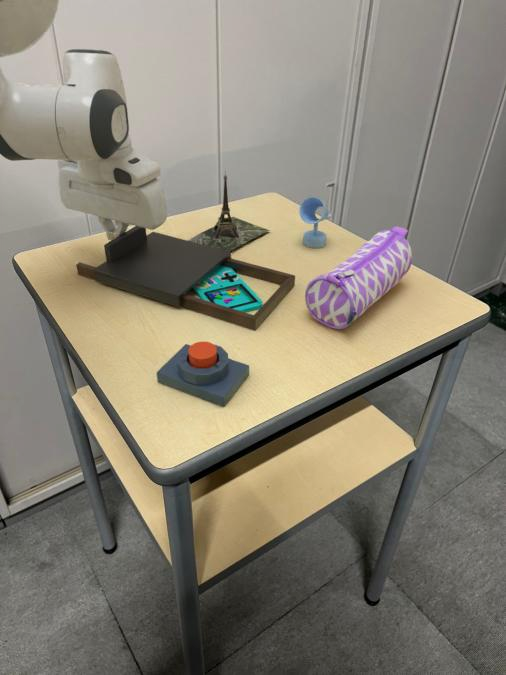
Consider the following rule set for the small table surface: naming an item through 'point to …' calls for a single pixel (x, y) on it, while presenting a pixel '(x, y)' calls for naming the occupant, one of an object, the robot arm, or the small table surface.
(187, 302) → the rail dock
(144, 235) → the lid
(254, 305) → the handheld gaming console
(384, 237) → the pencil case
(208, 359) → the button
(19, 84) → the robot arm
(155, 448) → the small table surface
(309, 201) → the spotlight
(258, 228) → the eiffel tower figurine
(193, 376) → the button block
